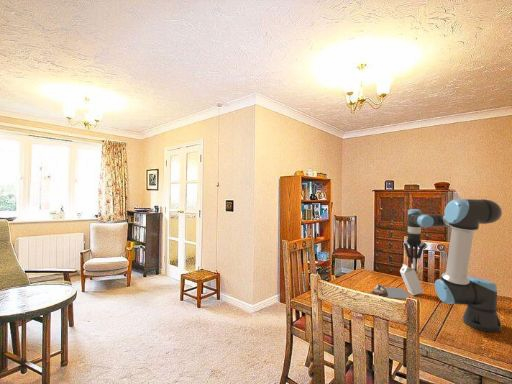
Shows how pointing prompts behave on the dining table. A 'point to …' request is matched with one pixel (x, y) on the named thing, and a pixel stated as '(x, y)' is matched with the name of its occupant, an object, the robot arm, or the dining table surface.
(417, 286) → the milk carton
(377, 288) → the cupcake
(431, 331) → the dining table surface
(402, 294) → the mat
